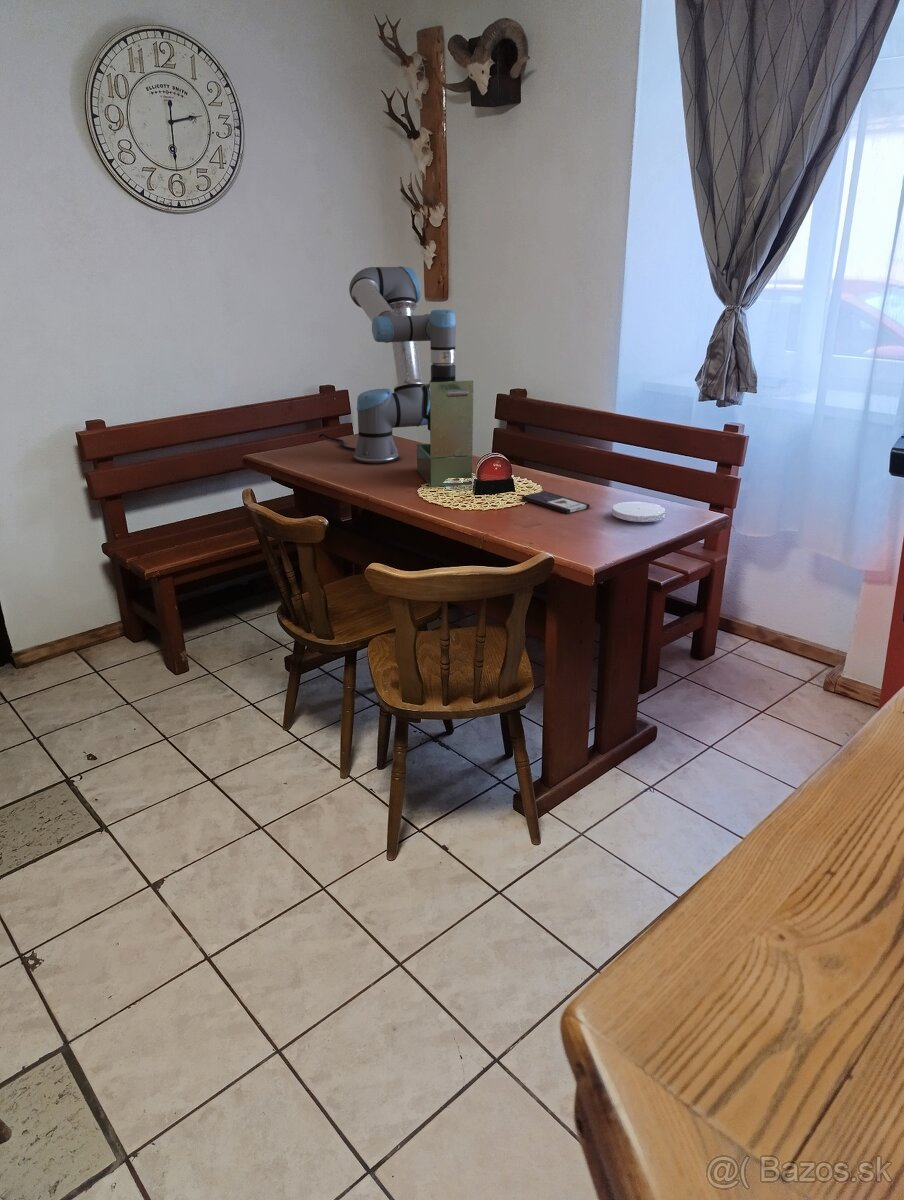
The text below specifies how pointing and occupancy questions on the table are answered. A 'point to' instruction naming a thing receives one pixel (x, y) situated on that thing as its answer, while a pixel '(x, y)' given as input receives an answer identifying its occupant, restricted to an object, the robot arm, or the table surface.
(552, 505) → the chocolate bar
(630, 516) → the plastic lid
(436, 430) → the bin lid
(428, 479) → the green open box
